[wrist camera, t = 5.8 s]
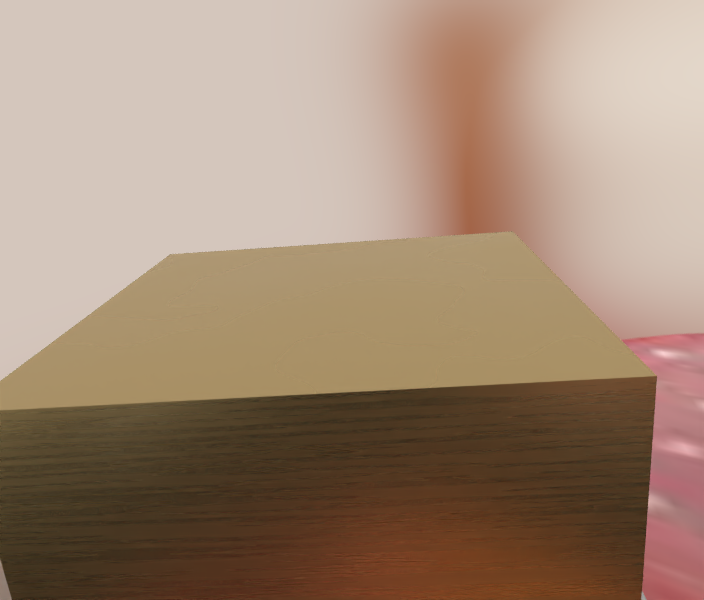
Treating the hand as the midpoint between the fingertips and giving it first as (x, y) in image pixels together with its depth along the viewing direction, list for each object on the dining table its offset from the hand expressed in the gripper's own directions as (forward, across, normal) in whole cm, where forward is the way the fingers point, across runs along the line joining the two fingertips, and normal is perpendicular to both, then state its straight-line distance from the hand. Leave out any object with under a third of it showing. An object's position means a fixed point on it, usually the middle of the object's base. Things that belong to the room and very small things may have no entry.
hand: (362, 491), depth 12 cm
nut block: (-3, 0, -7) cm, 8 cm away
